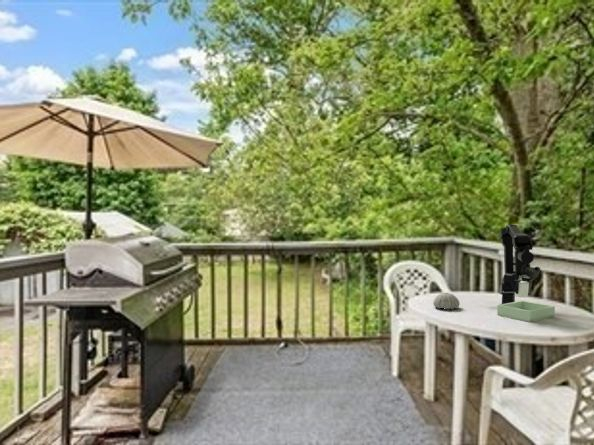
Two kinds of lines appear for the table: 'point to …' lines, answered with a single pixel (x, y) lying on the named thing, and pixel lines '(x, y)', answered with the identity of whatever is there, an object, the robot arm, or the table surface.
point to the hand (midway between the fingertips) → (521, 293)
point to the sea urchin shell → (446, 301)
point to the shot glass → (523, 289)
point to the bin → (526, 311)
